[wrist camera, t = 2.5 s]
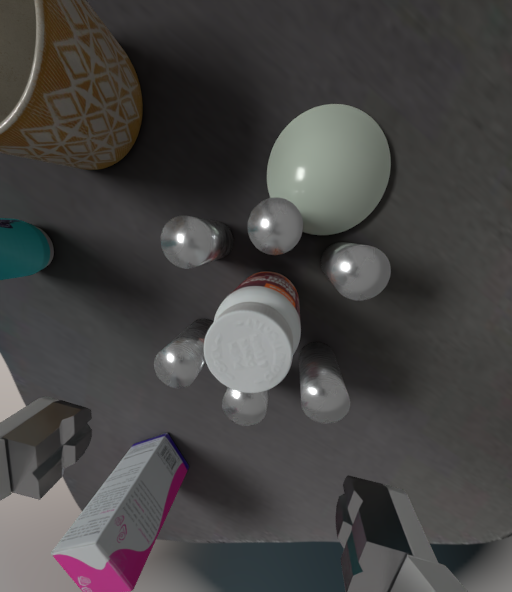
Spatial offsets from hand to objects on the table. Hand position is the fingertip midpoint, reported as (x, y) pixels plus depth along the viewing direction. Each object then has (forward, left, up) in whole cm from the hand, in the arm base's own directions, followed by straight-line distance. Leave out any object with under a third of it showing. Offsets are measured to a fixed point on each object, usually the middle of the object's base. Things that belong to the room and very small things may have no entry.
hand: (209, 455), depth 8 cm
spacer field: (0, 0, -18) cm, 18 cm away
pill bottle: (0, 0, -18) cm, 18 cm away
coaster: (-12, +3, -18) cm, 22 cm away
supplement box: (+23, -10, -18) cm, 31 cm away
